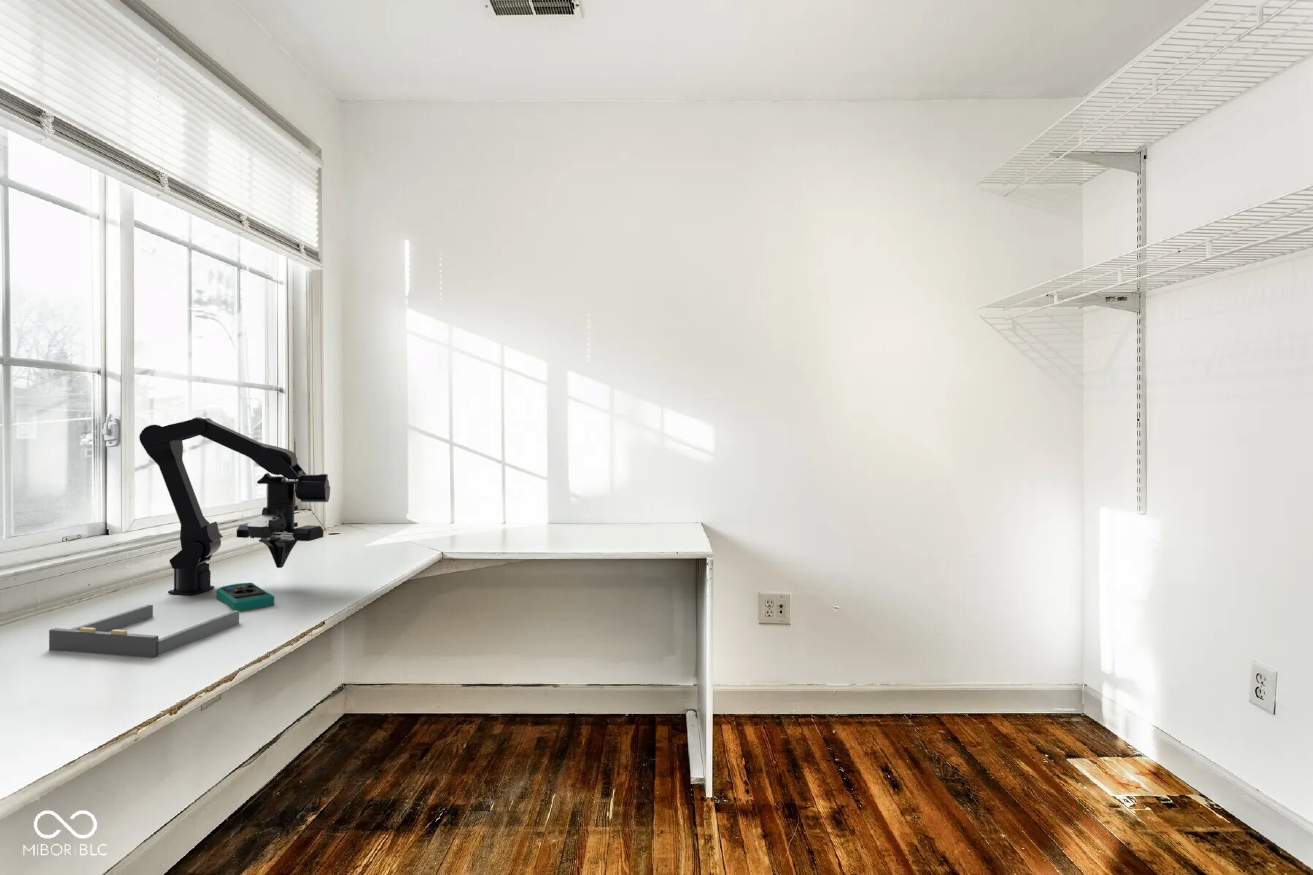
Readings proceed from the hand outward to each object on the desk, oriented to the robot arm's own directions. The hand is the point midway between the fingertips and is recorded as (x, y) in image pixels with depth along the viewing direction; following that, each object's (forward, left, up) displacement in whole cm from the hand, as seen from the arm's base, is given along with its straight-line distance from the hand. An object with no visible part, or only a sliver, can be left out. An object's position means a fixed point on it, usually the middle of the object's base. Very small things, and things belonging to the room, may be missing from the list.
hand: (279, 567), depth 158 cm
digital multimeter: (+1, -12, -6) cm, 13 cm away
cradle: (0, -35, -5) cm, 35 cm away
